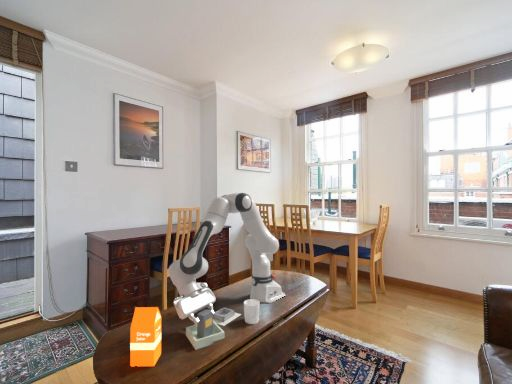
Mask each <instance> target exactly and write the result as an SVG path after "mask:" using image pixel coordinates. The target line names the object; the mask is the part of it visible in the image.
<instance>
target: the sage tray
mask: <svg viewBox="0 0 512 384" xmlns="http://www.w3.org/2000/svg"><path fill="white" fill-rule="evenodd" d="M225 334H226V333H225V331H224V330H223V329H222V327H220V325H219V324H217V323H215V322H214V321H213V334H212V335H210V336H207V337H204V338H199V337H197V324H196V325H195V324H193V325H190V326H187V327H185V336H186V338H187V339H188V341H189V343H190V344H191V345H192V347H193V348H194V350H196V351H197V350H200V349H203V348H206V347H209V346H211V345H215V344H216V343H215V342H217V341H220V340H223V339H225V337H226V336H225Z"/></svg>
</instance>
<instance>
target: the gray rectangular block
mask: <svg viewBox="0 0 512 384" xmlns="http://www.w3.org/2000/svg"><path fill="white" fill-rule="evenodd" d="M213 311H214V310H213ZM213 311H210V310H209V309H208V308H207V309H206V308H204V309H203V310H201V311H200V312H197V315H196V316H197V317H196V318H198V319H199V321H200V322H199V323H198V324H196V325H197V337H199V338H204V337H207V336H210V335H212V334H213Z"/></svg>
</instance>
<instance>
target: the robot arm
mask: <svg viewBox="0 0 512 384" xmlns="http://www.w3.org/2000/svg"><path fill="white" fill-rule="evenodd" d="M237 213H239V214H240V217H241V220H242V222H243V225H244V228H245V230H246V231H247V233H249V234H247V235H246V236H245V239H244V244H245V247H246V248H247V250H248V252H249V254H250V255H249V256H250V259H251V266H252V270H251V271H252V272H251V273H252V274H251V290H250V296H249V299H255V300H258V301H259V302H260V303H266V304H272V303H275V302H276V300H277V301H279V300H281V299H283V298H282V297H284V296H286V293H285V292H283V291H282V286H281V285H280V284H279V283H277V281H275V279H276V277H277V275H276V274H275V275H274V274H271V261H270V260H269V258H268V256H267V255H274V254H275V253H277V252H278V250H279V247H280V242H279V240H278V239H277V238H276V237H275V236H274V235H273V234H272V233H271V232H270V231H269V229H268V228H267V226H266V225H265V223H264V221H263V218H262V215H261V213H260V211H259V208H258V206H257V204H256V202H255V201H254V199H253V198H252V197H251V196H250V195H249V194H248V193H245V192H240V193H239V192H234V193H228V194H224V195H221V196H218V197H215V198H214V199H213V200H212V201H211V203H210V204H209V207H208V208H207V211H206V213H205V214H204V215H205V216H204V218H203V220H202V223H201V224H200V226H199V228H198V230H197V231H196V234H195V235H194V238H193V240H192V242H191V244H190V246H189V247H188V249H187V250H186V251H185V252H184V253H183V254H182V255H181V257H180V259H176V260H175V261H173V262H171V264H170V265H169V267H168V270H167V271H168V275H169V277H170V280H171V282H172V284H173V286H175V287H176V289H177V293H178V294H179V296H178V297H175V298H174V299H173V302H172V304H173V305H174V307H175V310H176V314H177V316H178V317H179V319H181V320H184V319H186V318H188V319H189V320H190V321H192V322H193V323H194V325H197V324H198V323H199V322H200V321H199V319H198V318H197V317H195V314H196V313H199V311H200V312H201V311H203V310H205V309H206V308H207V310H210V311H213V315H214V313H215V312H216V311H214V306H213V304H214V303H215V302H216V299H217V298H216V296H215V294H214V292H213V291H212V290H211V289H210V287H209V286H208V284H207V282H197V281H196V279H199V278H201V277H202V276H204V275H206V273H207V272H208V270H209V262H208V260H207V259H206V258H205V257H203V252H204V250H205V248H206V246H207V244H208V241H209V240H210V238H211V236H213V235H216V234H219V233H220V232H222V230H223V228H224V226H225V224H226V223H227V219H228V216H229V214H237ZM286 297H287V296H286ZM280 298H281V299H280ZM284 298H285V297H284ZM278 299H279V300H278Z"/></svg>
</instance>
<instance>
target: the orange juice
mask: <svg viewBox="0 0 512 384" xmlns="http://www.w3.org/2000/svg"><path fill="white" fill-rule="evenodd" d="M129 338H130V339H129V340H130V341H129V345H130V346H129V348H130V349H129V350H130V354H129V355H130V357H129V358H130V361H129V363H130V364H129V366H131V367H135V366H137V367H155V365H156V364H157V362H158V360H159V358H160V357H161V355H162V315H161V312H160V309H159V306H151V307H150V306H148V307H147V306H146V307H144V306H142V307H141V306H140V307H138V306H137V307H134V313H133V317H132V320H131V324H130V336H129ZM131 367H130V368H131ZM135 368H136V367H135Z"/></svg>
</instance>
